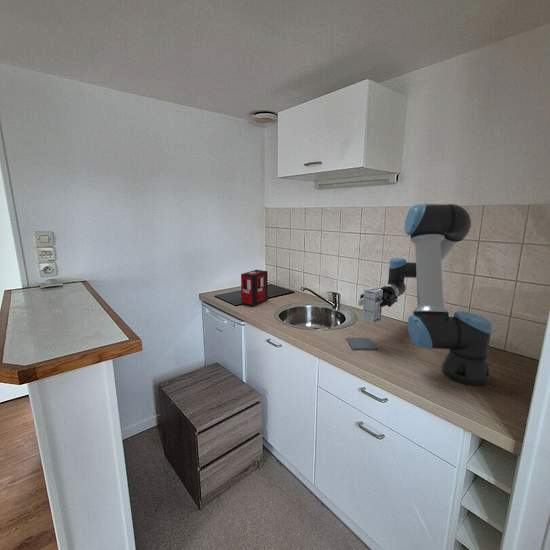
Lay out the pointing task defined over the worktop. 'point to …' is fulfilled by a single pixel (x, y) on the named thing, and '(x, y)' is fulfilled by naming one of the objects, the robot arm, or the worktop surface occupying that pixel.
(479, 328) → the robot arm
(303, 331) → the worktop surface
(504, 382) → the worktop surface
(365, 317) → the syrup box
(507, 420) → the worktop surface
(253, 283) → the cleaning product box
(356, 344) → the charcoal mat
